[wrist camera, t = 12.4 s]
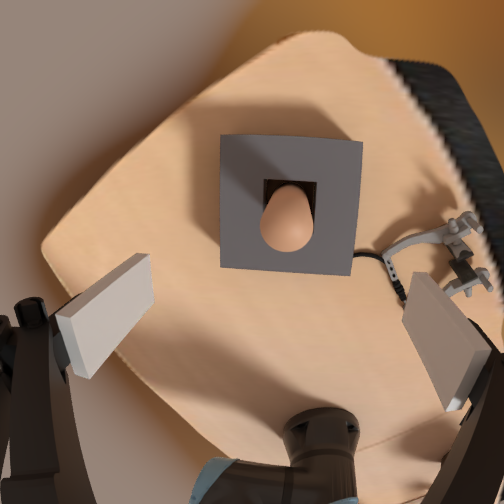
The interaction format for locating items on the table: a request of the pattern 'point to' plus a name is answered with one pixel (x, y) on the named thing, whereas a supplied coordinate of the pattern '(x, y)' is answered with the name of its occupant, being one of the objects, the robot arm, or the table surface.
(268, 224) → the peg
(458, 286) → the bike brake
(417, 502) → the white piece
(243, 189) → the socket block
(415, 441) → the table surface
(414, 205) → the table surface
